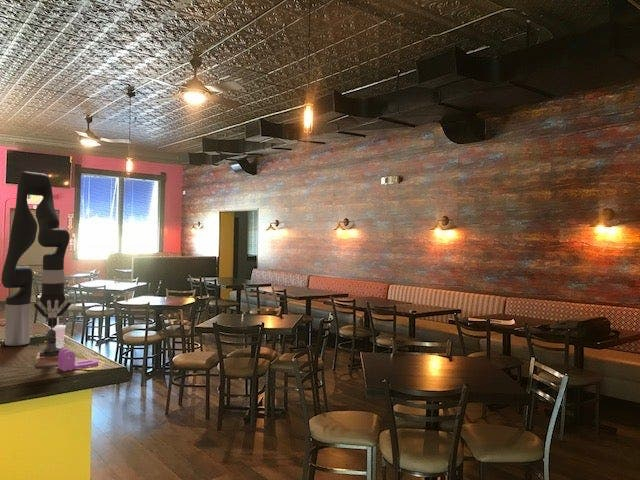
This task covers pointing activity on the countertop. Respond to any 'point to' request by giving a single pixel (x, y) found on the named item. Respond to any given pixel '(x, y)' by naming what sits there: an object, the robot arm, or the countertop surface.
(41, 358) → the shaker holder
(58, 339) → the beverage cup
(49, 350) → the salt shaker
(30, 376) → the countertop surface
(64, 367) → the bracket
